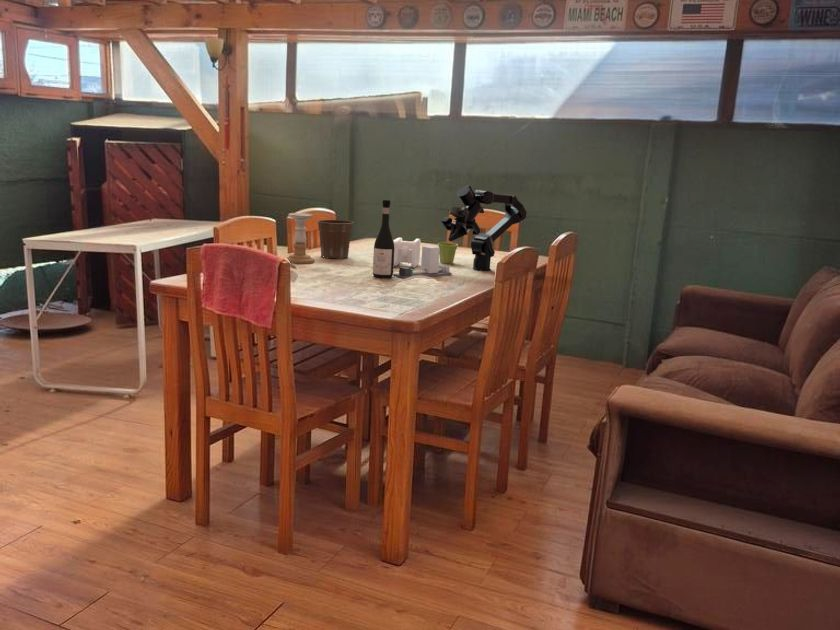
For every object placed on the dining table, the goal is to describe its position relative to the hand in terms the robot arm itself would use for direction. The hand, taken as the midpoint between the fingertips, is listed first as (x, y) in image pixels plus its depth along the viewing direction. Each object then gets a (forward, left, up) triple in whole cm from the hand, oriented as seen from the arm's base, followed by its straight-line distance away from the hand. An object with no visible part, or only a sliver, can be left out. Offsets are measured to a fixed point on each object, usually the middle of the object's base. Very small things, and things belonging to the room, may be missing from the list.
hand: (449, 240), depth 299 cm
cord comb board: (+12, +7, -14) cm, 20 cm away
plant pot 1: (+42, -38, -14) cm, 58 cm away
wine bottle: (+30, +11, -14) cm, 35 cm away
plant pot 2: (-8, -27, -14) cm, 31 cm away
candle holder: (+59, -23, -14) cm, 65 cm away
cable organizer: (+14, -17, -14) cm, 26 cm away
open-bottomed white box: (+9, +5, -12) cm, 16 cm away
